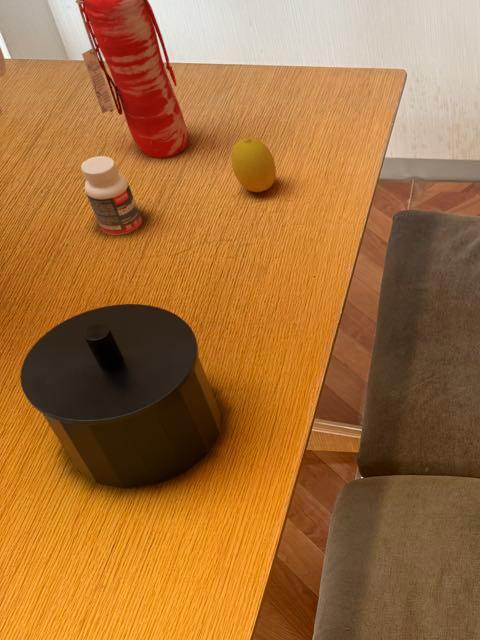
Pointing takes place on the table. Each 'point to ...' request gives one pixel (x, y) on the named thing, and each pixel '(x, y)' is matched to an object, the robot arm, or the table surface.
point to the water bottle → (134, 73)
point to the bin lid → (109, 364)
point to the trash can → (147, 439)
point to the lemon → (253, 165)
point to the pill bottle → (110, 196)
